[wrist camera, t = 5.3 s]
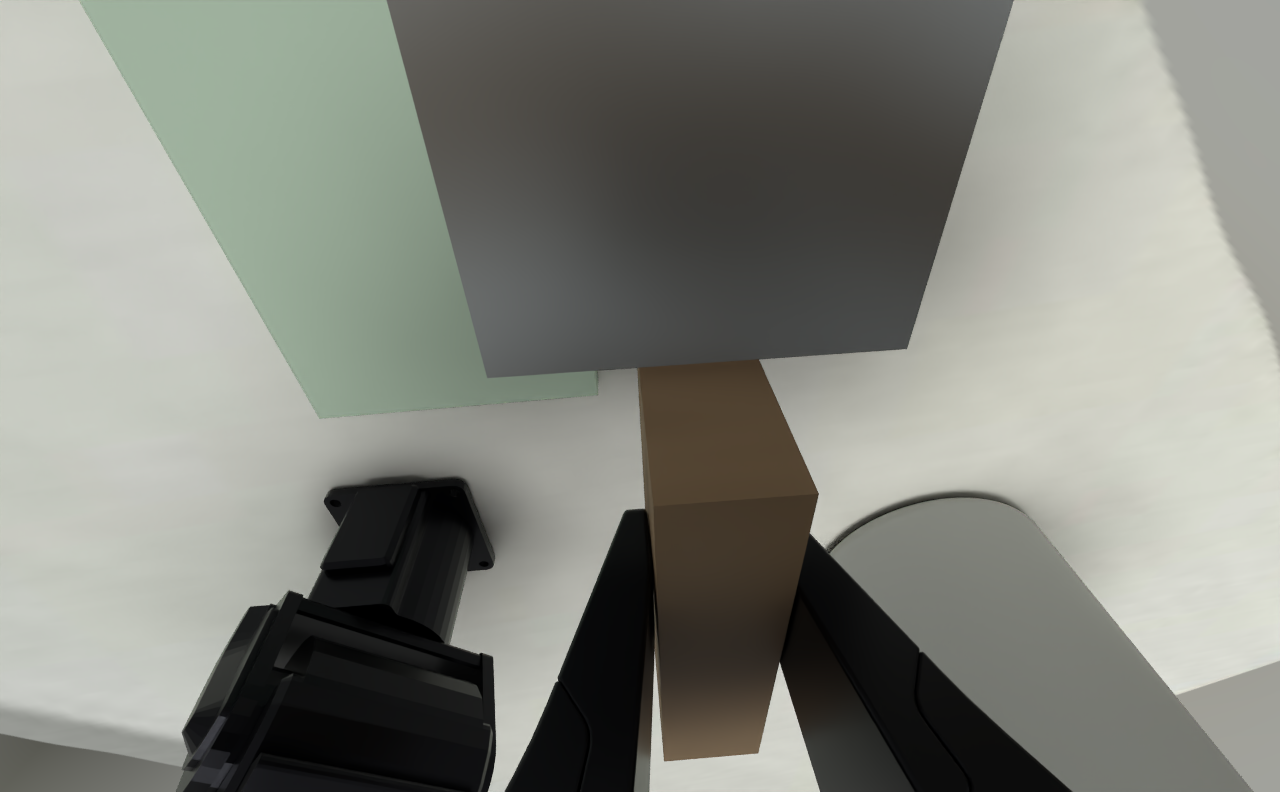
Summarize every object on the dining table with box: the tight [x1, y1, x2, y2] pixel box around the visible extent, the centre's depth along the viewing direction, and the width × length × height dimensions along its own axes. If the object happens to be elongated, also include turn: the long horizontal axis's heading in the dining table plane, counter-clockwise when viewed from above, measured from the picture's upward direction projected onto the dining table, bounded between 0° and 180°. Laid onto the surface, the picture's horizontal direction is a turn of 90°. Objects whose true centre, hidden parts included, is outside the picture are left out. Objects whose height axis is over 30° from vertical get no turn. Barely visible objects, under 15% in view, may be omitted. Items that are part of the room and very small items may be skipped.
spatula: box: [387, 0, 1014, 761], centre depth 8 cm, size 14×7×4 cm, turn 3°
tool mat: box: [79, 0, 598, 419], centre depth 16 cm, size 18×11×1 cm, turn 4°
